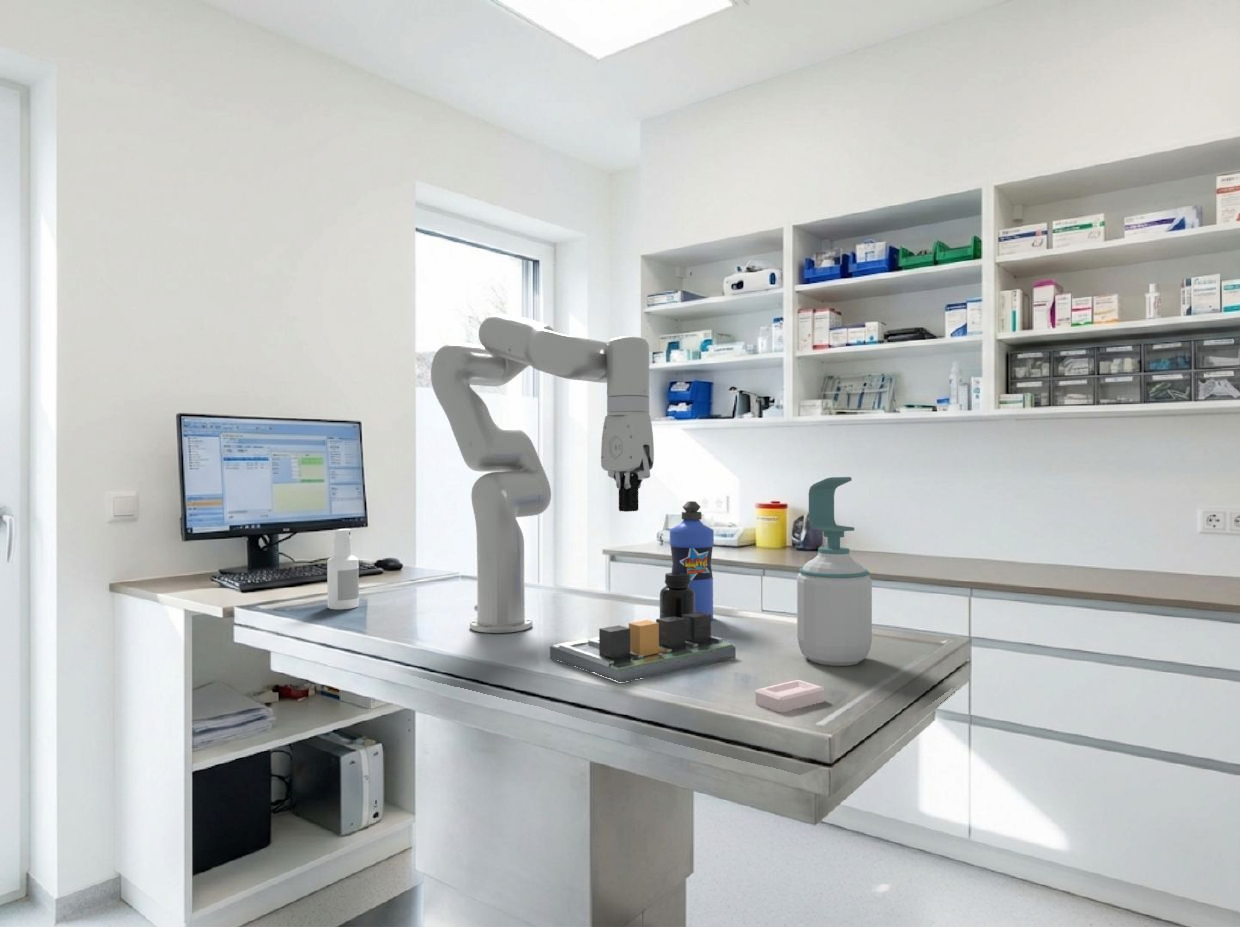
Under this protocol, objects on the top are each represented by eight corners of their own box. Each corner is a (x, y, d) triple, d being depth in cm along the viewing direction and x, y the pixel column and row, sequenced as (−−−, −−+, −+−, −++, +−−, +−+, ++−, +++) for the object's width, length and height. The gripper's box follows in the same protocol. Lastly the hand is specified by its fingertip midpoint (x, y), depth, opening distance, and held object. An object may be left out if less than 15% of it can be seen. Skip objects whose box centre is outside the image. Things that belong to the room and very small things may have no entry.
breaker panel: (549, 657, 139) (549, 617, 139) (660, 637, 154) (660, 600, 154) (620, 683, 123) (620, 638, 123) (735, 658, 139) (735, 617, 138)
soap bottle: (827, 672, 129) (827, 478, 129) (782, 654, 141) (782, 476, 140) (887, 664, 134) (887, 477, 134) (839, 647, 146) (839, 475, 145)
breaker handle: (628, 653, 134) (628, 623, 134) (647, 649, 136) (647, 620, 136) (640, 656, 131) (640, 626, 131) (658, 653, 134) (658, 623, 134)
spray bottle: (352, 610, 183) (352, 530, 183) (323, 610, 183) (322, 530, 183) (362, 604, 190) (362, 528, 189) (334, 604, 190) (333, 528, 190)
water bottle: (719, 622, 168) (718, 502, 167) (675, 624, 166) (675, 503, 166) (707, 613, 177) (706, 500, 177) (665, 615, 175) (665, 500, 175)
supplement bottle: (693, 640, 152) (692, 577, 152) (657, 639, 153) (657, 576, 153) (696, 632, 158) (696, 571, 158) (662, 631, 160) (662, 570, 160)
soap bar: (753, 705, 114) (753, 688, 114) (798, 694, 119) (798, 678, 119) (781, 715, 109) (781, 697, 109) (826, 703, 115) (826, 686, 115)
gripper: (586, 409, 147) (587, 509, 147) (638, 404, 135) (638, 514, 135) (619, 410, 151) (619, 507, 151) (671, 406, 139) (672, 512, 139)
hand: (628, 510), depth 143 cm, fingers closed
